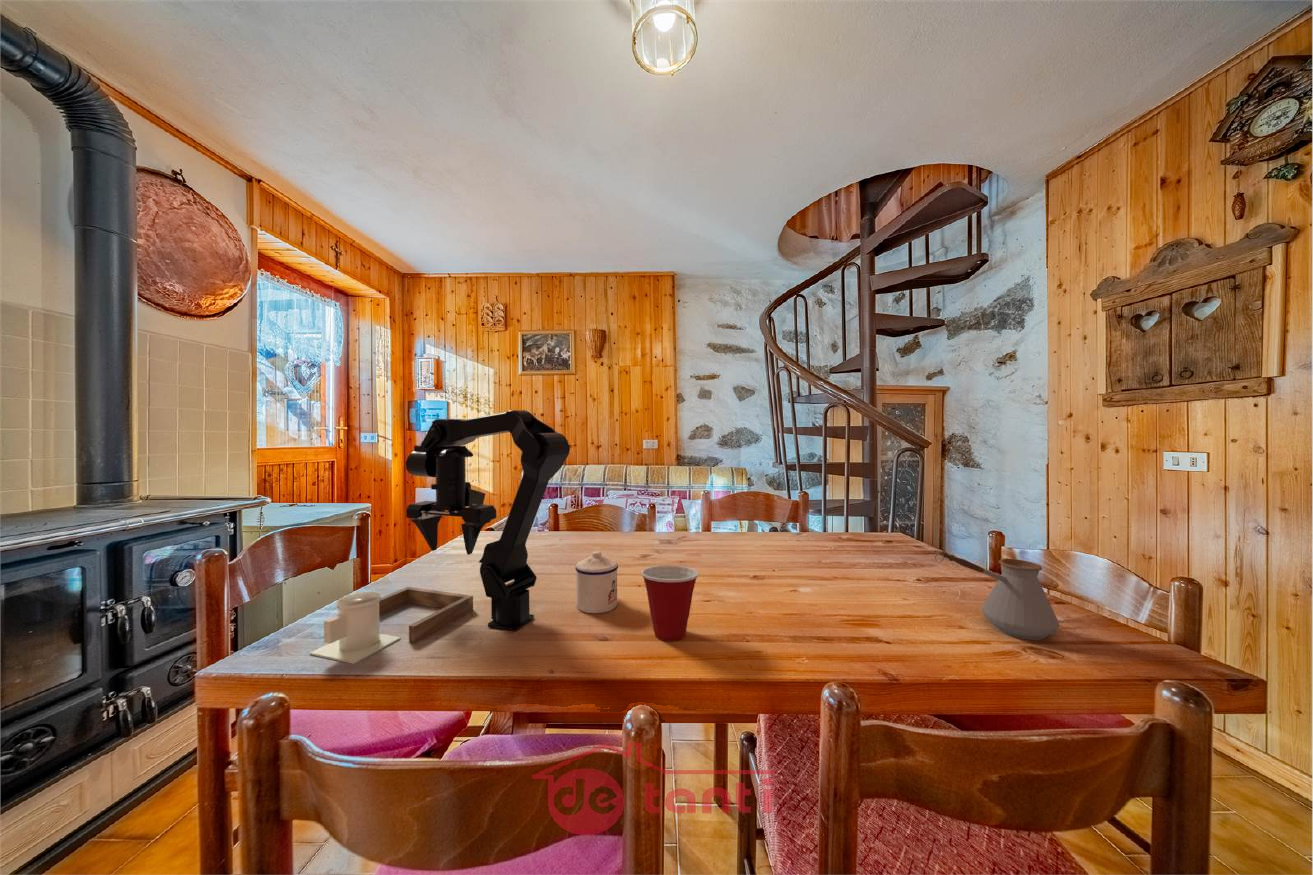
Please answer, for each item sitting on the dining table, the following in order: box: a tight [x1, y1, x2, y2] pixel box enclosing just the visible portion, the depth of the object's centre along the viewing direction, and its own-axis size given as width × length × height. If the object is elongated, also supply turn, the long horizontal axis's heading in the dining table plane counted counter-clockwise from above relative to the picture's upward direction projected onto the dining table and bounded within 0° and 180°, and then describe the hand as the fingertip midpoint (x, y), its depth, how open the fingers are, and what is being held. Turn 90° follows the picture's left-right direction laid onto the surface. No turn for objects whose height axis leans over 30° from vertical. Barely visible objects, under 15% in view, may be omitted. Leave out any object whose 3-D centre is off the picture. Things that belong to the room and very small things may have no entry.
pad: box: [309, 633, 402, 665], centre depth 79 cm, size 10×9×1 cm
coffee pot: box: [934, 551, 1060, 641], centre depth 86 cm, size 21×12×15 cm, turn 89°
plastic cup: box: [640, 565, 700, 642], centre depth 84 cm, size 11×11×12 cm
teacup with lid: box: [575, 550, 619, 614], centre depth 99 cm, size 12×9×12 cm
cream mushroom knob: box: [323, 591, 381, 652], centre depth 79 cm, size 9×6×8 cm
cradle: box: [379, 586, 474, 644], centre depth 90 cm, size 17×15×3 cm
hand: (451, 552), depth 95 cm, fingers open, 9 cm apart
